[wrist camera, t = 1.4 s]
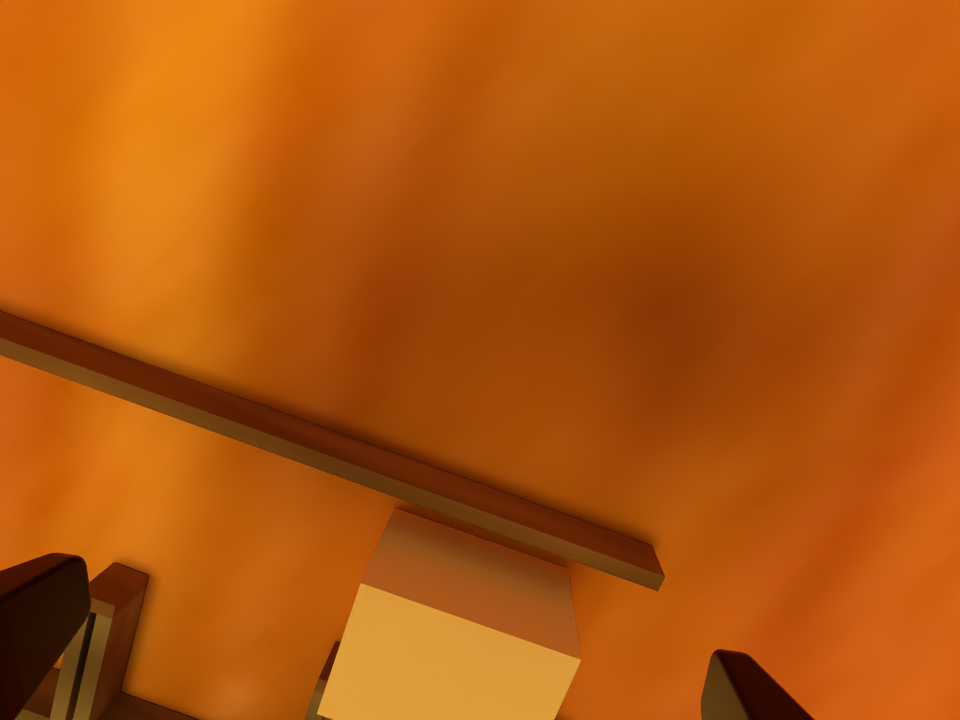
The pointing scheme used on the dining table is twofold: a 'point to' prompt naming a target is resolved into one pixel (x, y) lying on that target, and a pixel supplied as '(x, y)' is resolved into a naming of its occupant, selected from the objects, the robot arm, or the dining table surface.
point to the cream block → (454, 631)
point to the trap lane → (120, 590)
